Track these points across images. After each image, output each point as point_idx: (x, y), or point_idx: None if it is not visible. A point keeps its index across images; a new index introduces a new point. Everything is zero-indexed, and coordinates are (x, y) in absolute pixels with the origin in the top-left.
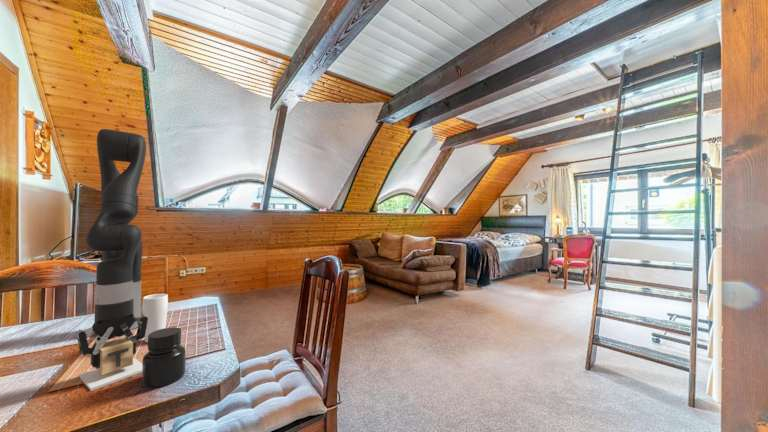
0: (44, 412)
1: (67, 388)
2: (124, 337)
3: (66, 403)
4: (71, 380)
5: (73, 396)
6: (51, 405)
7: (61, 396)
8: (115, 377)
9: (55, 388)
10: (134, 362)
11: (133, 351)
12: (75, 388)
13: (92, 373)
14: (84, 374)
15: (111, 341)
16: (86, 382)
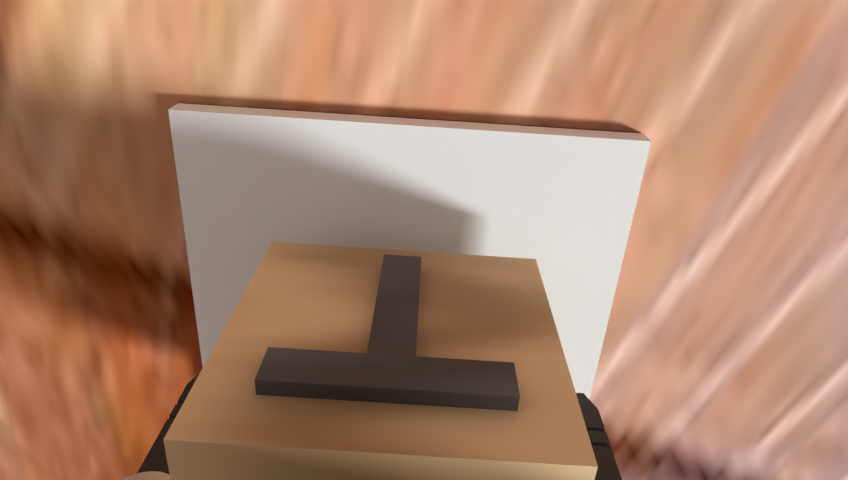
0: (5, 476)
1: (100, 272)
2: (580, 474)
3: (100, 475)
4: (125, 131)
5: (133, 427)
6: (28, 431)
7: (70, 365)
8: None
9: (20, 186)
10: (576, 304)
11: None
12: (147, 323)
13: (266, 209)
14: (210, 164)
15: (381, 475)
16: (204, 349)
